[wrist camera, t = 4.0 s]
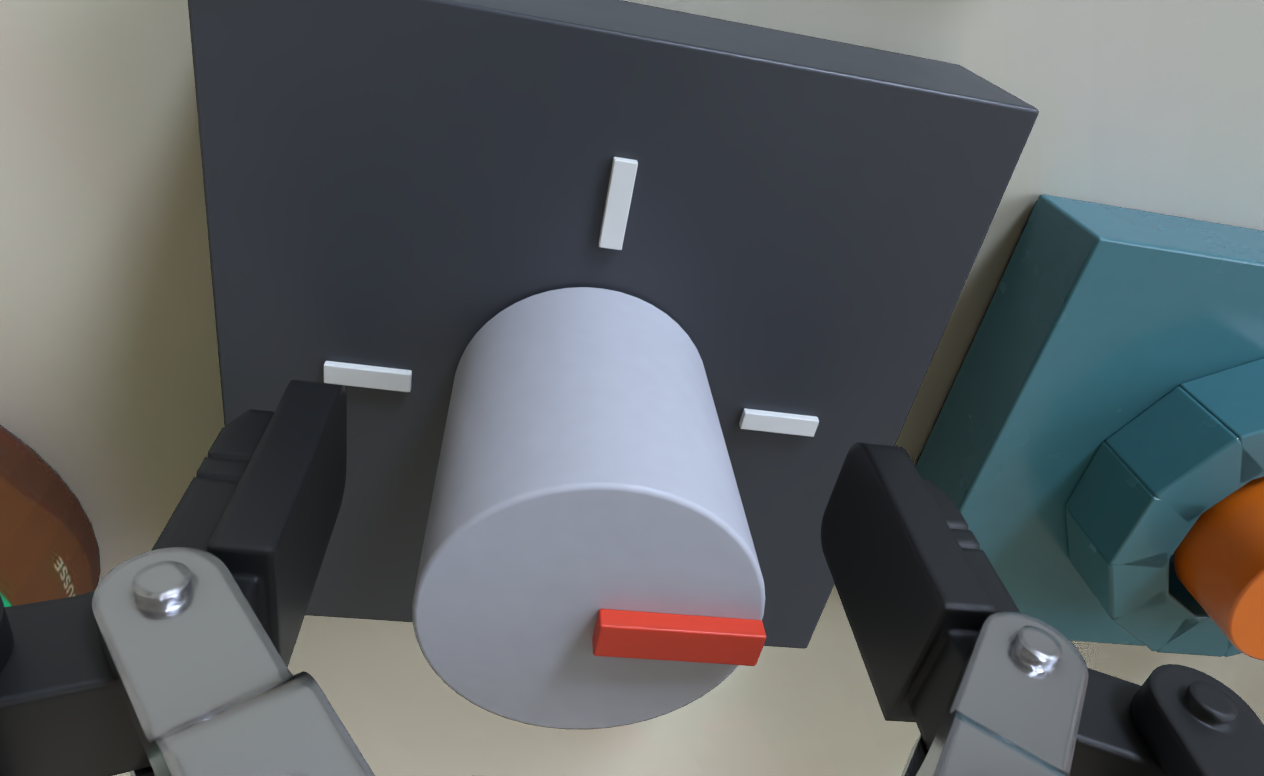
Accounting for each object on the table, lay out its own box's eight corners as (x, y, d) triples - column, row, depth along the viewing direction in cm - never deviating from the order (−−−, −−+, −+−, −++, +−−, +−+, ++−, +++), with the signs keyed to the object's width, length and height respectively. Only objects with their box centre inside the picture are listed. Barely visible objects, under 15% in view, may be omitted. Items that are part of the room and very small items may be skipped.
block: (869, 562, 22) (926, 693, 18) (1039, 192, 17) (1161, 282, 13) (1239, 594, 24) (1352, 719, 20) (1497, 268, 18) (1707, 365, 15)
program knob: (445, 485, 16) (399, 743, 11) (463, 268, 13) (417, 485, 9) (677, 506, 16) (723, 757, 12) (734, 304, 14) (817, 522, 10)
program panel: (280, 512, 19) (236, 618, 17) (252, -71, 13) (176, -48, 11) (777, 554, 21) (808, 656, 19) (961, 65, 15) (1047, 112, 12)
